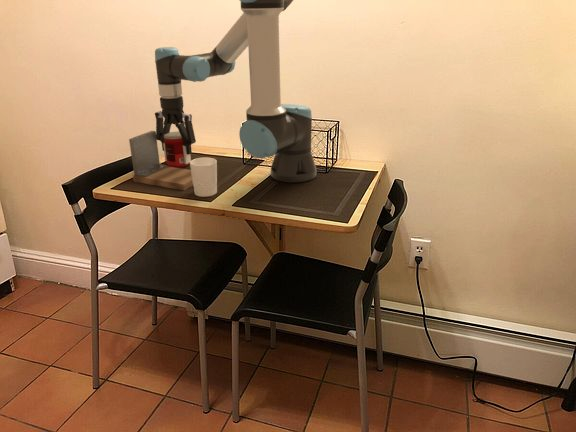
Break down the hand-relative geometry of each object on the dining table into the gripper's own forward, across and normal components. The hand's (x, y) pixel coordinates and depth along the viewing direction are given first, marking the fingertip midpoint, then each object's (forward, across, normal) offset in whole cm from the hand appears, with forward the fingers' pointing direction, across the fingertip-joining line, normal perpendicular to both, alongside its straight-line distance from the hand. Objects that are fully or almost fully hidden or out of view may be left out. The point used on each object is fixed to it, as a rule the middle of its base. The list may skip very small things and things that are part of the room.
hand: (178, 161), depth 175 cm
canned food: (+1, 0, 0) cm, 1 cm away
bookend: (-1, 0, +14) cm, 14 cm away
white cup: (+1, -24, +19) cm, 31 cm away
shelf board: (+1, -7, +14) cm, 16 cm away
